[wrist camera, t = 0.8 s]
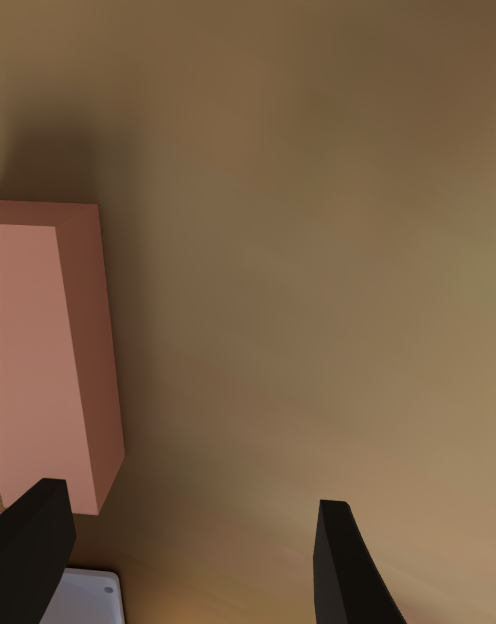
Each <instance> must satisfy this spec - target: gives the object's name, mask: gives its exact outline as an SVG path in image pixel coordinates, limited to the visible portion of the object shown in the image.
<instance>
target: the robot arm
mask: <svg viewBox="0 0 496 624" xmlns="http://www.w3.org/2000/svg"><path fill="white" fill-rule="evenodd" d="M75 540H76V532H75V526H74V521H73V515H72V510H71V504H70V499H69V493H68V488H67V482H66V479H54V478H42V479H41V480H39V481H38V482H37V483H36V484H35V485H33V486H32V487H31V488H30V489H29V490H28V491H26V492H25V493H24V494H23V495H22V496H21V497H20V498H19V499H17V500H16V501H15V502H14V503H13V504H12V505H11V506H9V507H8V508H7V509H6V510H5V511H4V512H3V513H1V514H0V624H125V621H124V614H123V606H122V599H121V592H120V584H119V578H118V576H117V575H116V574H115V573H113V572H107V571H96V570H85V569H74V568H66V565H67V562H68V560H69V557H70V554H71V551H72V548H73V545H74V543H75ZM313 573H314V604H315V613H316V621H317V624H407V623H406V621H405V619H404V618H403V616H402V614H401V613H400V611H399V609H398V607H397V606H396V604H395V602H394V600H393V598H392V597H391V595H390V593H389V591H388V589H387V587H386V585H385V583H384V581H383V579H382V578H381V576H380V574H379V572H378V570H377V568H376V566H375V564H374V562H373V560H372V558H371V556H370V554H369V551H368V549H367V547H366V545H365V543H364V541H363V538H362V536H361V534H360V532H359V529H358V527H357V524H356V522H355V519H354V517H353V514H352V512H351V509H350V506H349V505H348V504H347V503H346V502H345V501H333V500H320V506H319V514H318V522H317V530H316V538H315V546H314V554H313Z"/></svg>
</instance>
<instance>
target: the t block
mask: <svg viewBox="0 0 496 624" xmlns="http://www.w3.org/2000/svg"><path fill="white" fill-rule="evenodd" d="M124 458H125V449H124V440H123V431H122V421H121V412H120V403H119V394H118V385H117V375H116V366H115V357H114V348H113V338H112V329H111V320H110V311H109V302H108V292H107V283H106V274H105V265H104V255H103V246H102V237H101V228H100V218H99V209H98V204H83V203H59V202H36V201H12V200H0V493H1V497H2V501H3V505H4V507H6V508H8V507H9V506H11V505H12V504H13V503H14V502H15V501H16V500H17V499H19V498H20V497H21V496H22V495H23V494H24V493H25V492H26V491H28V490H29V489H30V488H31V487H32V486H33V485H35V484H36V483H37V482H38V481H39V480H41V479H42V478H54V479H66V482H67V488H68V493H69V499H70V504H71V510H72V513H78V514H90V515H99V512H100V510H101V508H102V506H103V504H104V501H105V499H106V497H107V495H108V493H109V491H110V488H111V486H112V484H113V482H114V480H115V478H116V475H117V473H118V471H119V469H120V467H121V464H122V462H123V460H124Z"/></svg>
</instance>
